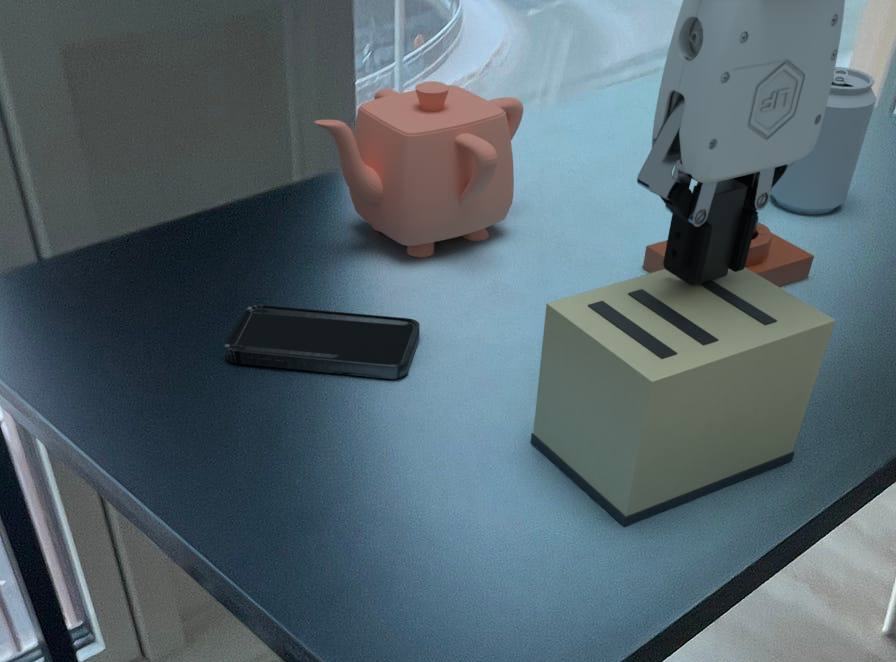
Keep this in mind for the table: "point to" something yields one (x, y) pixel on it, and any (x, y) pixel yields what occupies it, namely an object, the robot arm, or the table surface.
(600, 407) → the toaster
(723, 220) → the toaster slider
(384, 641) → the table surface
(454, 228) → the teapot
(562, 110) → the table surface
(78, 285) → the table surface
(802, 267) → the control block
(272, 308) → the phone
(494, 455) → the table surface
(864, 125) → the can
